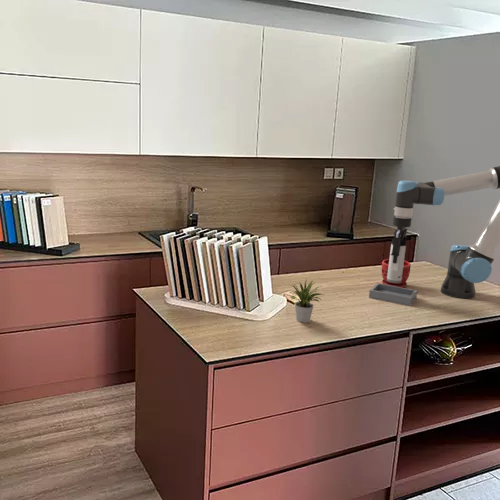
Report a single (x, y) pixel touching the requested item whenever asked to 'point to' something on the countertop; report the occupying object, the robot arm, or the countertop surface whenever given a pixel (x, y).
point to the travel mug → (397, 275)
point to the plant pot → (404, 275)
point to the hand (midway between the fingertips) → (396, 268)
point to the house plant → (305, 302)
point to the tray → (393, 294)
